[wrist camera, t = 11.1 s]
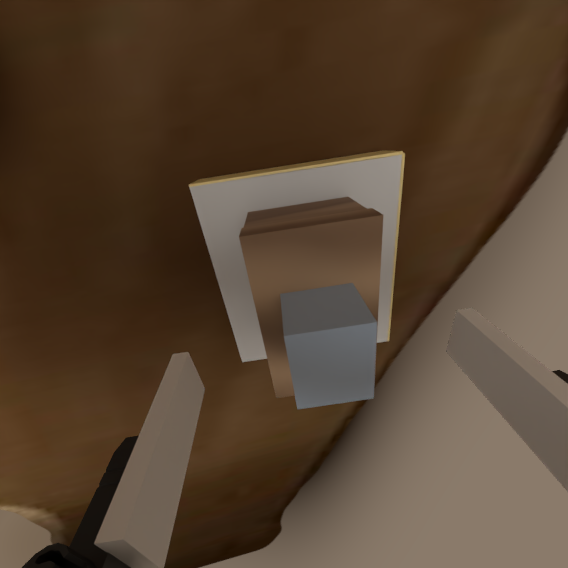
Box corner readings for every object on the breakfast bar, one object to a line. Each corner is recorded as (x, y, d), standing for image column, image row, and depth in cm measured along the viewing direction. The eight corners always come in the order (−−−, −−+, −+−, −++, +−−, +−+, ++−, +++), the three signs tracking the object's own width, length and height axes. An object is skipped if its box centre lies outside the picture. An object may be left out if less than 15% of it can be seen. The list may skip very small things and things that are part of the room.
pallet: (247, 209, 17) (238, 236, 12) (348, 193, 17) (383, 215, 12) (274, 340, 23) (276, 398, 18) (350, 329, 23) (374, 384, 18)
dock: (199, 179, 19) (188, 184, 16) (386, 149, 19) (405, 150, 16) (244, 340, 27) (242, 362, 24) (377, 321, 27) (389, 340, 24)
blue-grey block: (280, 293, 14) (283, 336, 11) (352, 282, 14) (376, 322, 11) (291, 359, 16) (297, 409, 13) (353, 350, 16) (373, 398, 13)
